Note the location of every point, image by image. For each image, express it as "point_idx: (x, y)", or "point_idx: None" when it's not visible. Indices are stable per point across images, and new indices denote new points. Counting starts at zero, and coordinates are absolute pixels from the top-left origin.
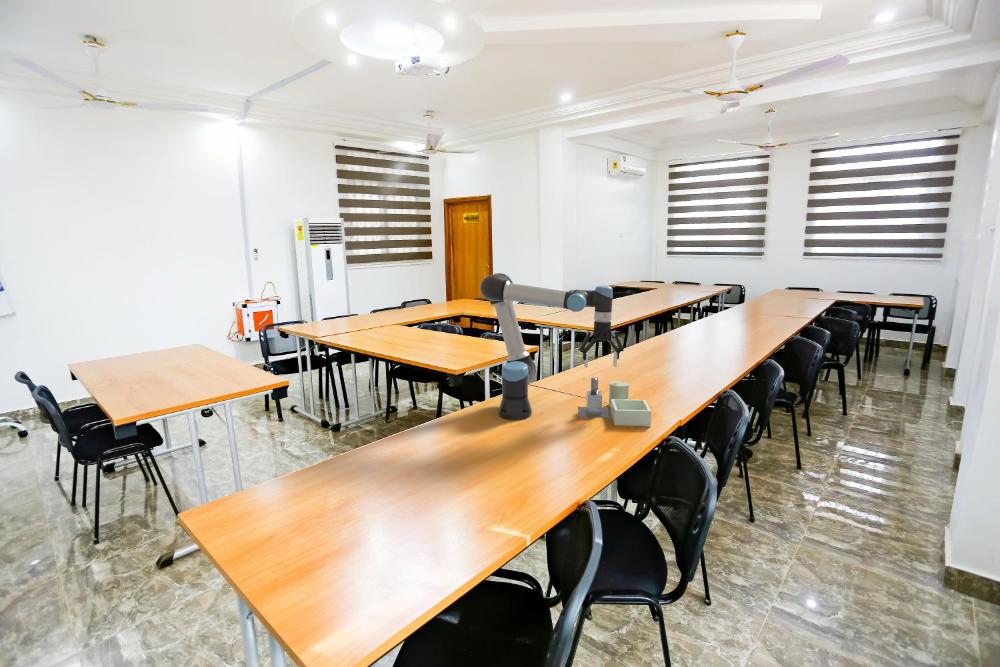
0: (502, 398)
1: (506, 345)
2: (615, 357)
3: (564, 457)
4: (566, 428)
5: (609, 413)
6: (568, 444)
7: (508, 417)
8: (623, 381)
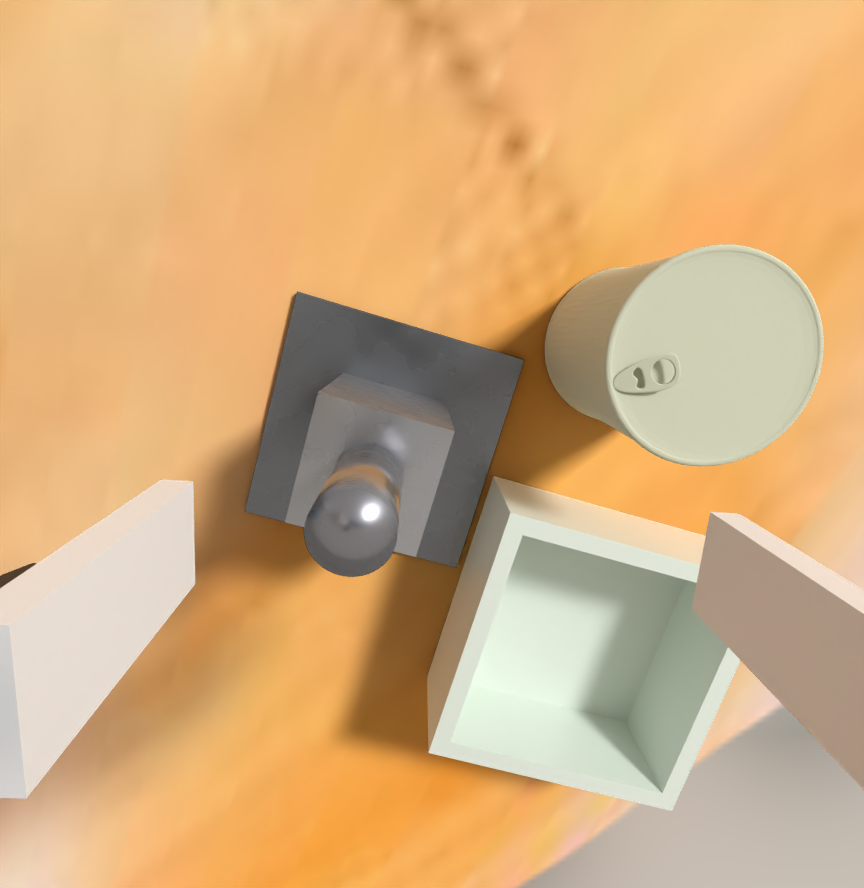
0: None
1: None
2: (806, 724)
3: None
4: None
5: (481, 487)
6: (80, 853)
7: None
8: (804, 293)
